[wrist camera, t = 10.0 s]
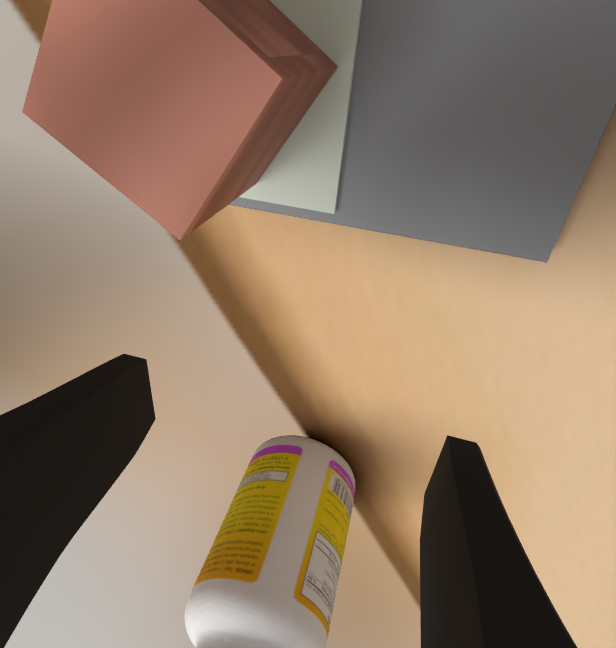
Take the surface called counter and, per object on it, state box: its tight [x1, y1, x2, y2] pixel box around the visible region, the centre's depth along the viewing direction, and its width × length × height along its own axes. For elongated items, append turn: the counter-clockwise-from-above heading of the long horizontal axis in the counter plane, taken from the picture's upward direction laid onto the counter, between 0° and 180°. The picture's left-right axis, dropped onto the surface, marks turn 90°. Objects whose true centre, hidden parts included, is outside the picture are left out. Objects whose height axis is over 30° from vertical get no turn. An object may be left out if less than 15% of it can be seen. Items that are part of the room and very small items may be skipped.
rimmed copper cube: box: [23, 0, 338, 240], centre depth 13 cm, size 5×5×6 cm
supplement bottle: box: [185, 435, 355, 648], centre depth 22 cm, size 7×7×13 cm
